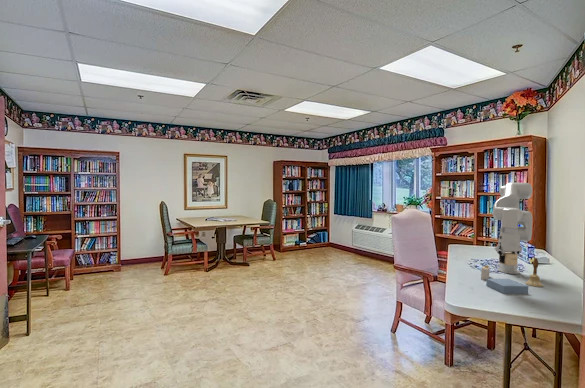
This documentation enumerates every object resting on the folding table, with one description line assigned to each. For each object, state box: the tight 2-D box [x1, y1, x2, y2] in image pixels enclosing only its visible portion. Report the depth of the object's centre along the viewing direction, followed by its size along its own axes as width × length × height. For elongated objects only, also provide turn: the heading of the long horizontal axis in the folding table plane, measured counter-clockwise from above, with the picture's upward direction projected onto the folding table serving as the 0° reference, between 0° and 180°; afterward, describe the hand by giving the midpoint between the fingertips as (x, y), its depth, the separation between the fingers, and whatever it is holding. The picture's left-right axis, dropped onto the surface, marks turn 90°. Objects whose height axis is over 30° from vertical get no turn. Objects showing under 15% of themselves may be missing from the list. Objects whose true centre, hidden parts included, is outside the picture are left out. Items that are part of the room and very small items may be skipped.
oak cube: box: [498, 252, 518, 266], centre depth 182 cm, size 6×6×6 cm
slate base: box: [486, 278, 529, 294], centre depth 183 cm, size 14×14×4 cm
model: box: [480, 264, 491, 281], centre depth 206 cm, size 3×11×8 cm, turn 143°
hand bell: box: [525, 257, 544, 288], centre depth 193 cm, size 8×8×16 cm
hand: (507, 262), depth 182 cm, fingers closed on oak cube, 6 cm apart
